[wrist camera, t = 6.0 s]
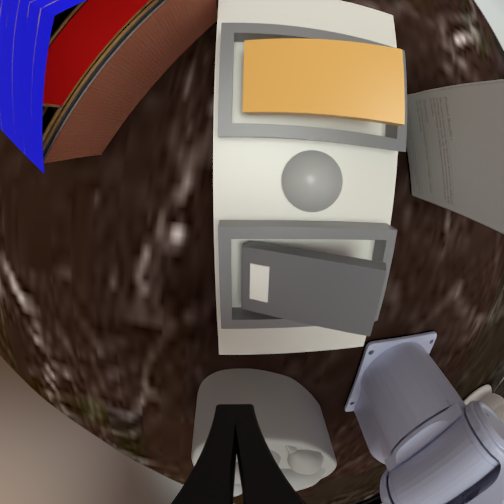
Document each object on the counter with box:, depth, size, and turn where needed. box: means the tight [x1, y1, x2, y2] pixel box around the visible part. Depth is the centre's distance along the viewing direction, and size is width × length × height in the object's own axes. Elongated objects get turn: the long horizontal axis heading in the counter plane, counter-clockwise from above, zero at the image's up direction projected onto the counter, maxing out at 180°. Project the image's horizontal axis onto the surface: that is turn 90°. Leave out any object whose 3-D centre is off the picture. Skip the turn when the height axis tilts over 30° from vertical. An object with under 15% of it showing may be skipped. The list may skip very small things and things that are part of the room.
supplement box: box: [406, 79, 504, 234], centre depth 10 cm, size 7×7×13 cm
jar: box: [463, 385, 504, 424], centre depth 23 cm, size 11×10×15 cm
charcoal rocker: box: [241, 241, 386, 336], centre depth 14 cm, size 4×7×1 cm, turn 89°
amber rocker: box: [242, 38, 405, 126], centre depth 10 cm, size 4×7×1 cm, turn 89°
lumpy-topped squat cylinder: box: [192, 369, 337, 496], centre depth 20 cm, size 10×13×9 cm
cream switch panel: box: [213, 0, 407, 355], centre depth 15 cm, size 22×10×4 cm, turn 179°
